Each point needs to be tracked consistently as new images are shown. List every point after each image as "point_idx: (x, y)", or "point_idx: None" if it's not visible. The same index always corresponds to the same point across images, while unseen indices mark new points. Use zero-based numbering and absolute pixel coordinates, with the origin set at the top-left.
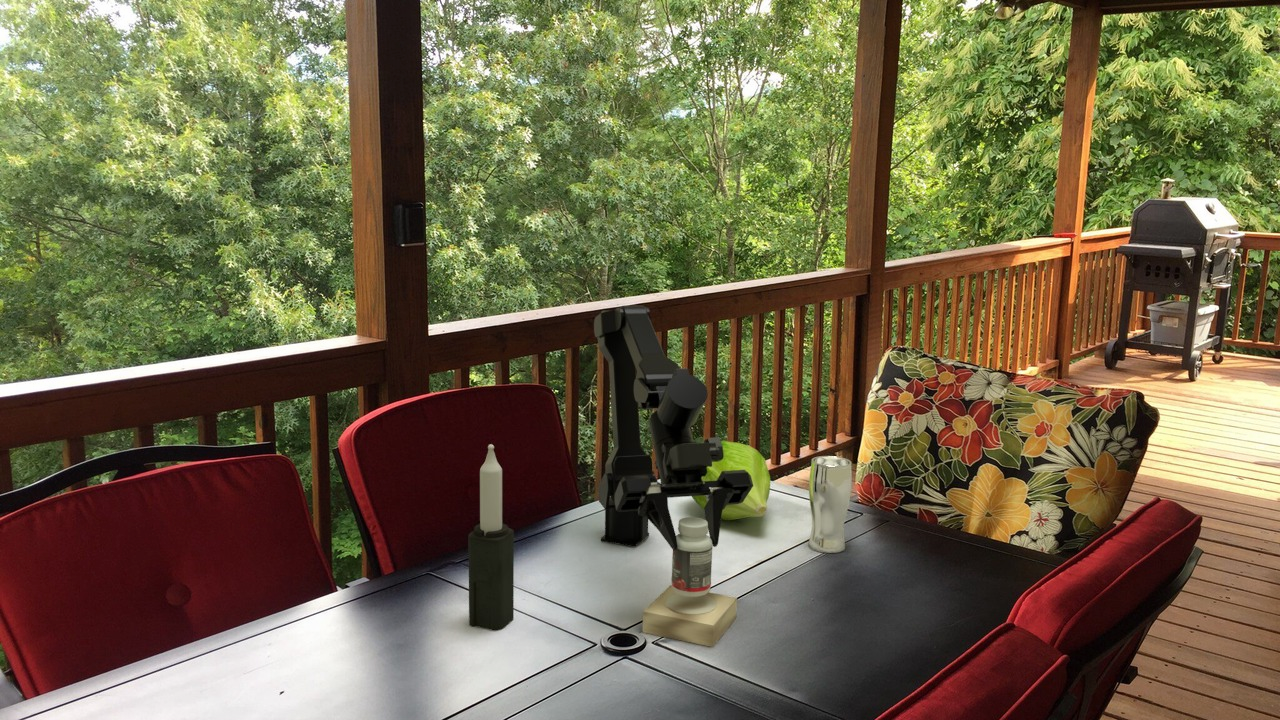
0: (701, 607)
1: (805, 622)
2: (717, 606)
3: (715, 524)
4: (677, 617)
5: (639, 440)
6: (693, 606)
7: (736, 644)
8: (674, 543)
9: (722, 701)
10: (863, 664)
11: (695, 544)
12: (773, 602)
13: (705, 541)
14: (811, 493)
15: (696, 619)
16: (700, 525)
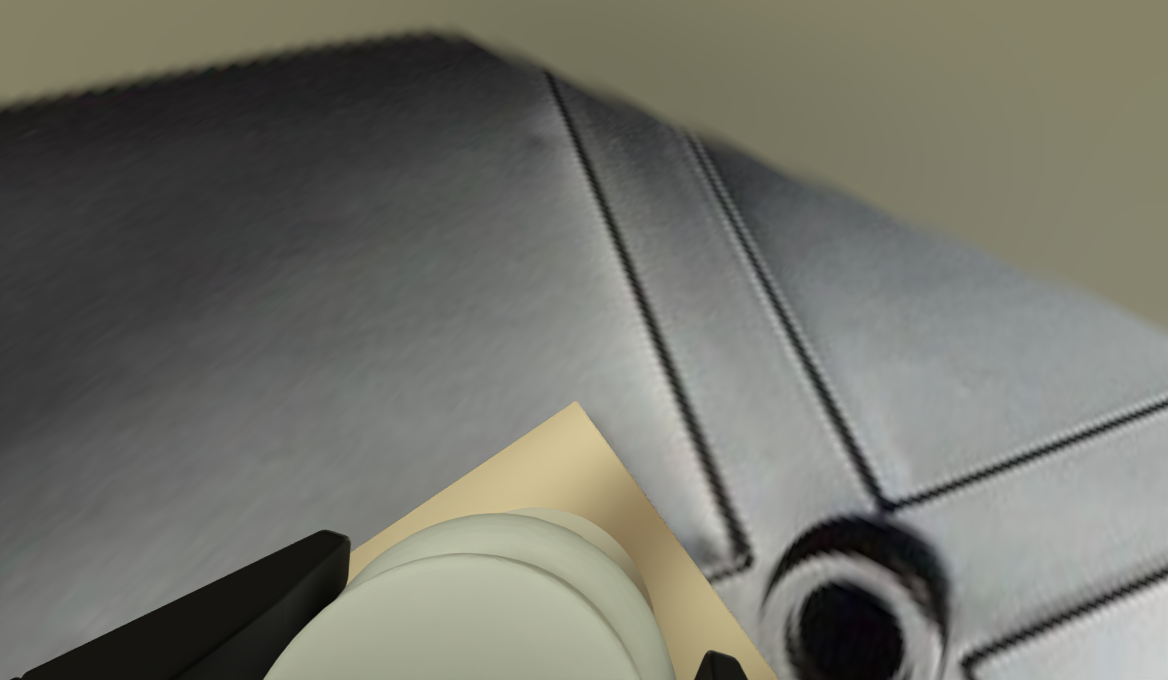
0: None
1: (158, 422)
2: None
3: (167, 653)
4: (667, 536)
5: None
6: None
7: (492, 402)
8: (740, 678)
9: (727, 176)
10: (279, 150)
11: (562, 550)
12: (76, 647)
13: (444, 549)
14: None
15: (605, 477)
16: (447, 597)
